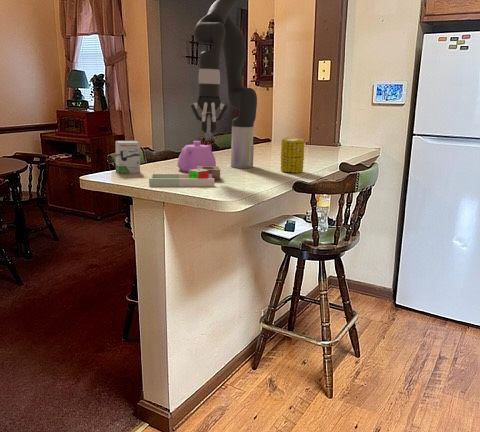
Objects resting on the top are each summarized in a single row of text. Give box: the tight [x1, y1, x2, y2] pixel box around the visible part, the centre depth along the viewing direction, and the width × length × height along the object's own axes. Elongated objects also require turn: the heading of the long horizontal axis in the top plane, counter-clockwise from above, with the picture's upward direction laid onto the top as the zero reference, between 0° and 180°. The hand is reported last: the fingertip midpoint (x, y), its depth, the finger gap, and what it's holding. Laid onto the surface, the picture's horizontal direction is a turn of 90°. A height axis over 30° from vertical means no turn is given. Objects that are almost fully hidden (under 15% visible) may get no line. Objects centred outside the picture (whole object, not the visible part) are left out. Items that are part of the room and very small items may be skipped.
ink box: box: [115, 140, 141, 174], centre depth 183 cm, size 9×5×12 cm, turn 118°
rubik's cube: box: [188, 169, 209, 178], centre depth 165 cm, size 5×5×5 cm
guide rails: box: [177, 173, 215, 187], centre depth 166 cm, size 12×10×2 cm
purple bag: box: [177, 140, 217, 173], centre depth 191 cm, size 22×16×12 cm
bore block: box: [197, 165, 221, 182], centre depth 175 cm, size 8×8×4 cm
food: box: [280, 136, 305, 174], centre depth 194 cm, size 15×12×10 cm
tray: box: [148, 173, 180, 187], centre depth 164 cm, size 10×10×2 cm
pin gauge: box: [204, 112, 213, 142], centre depth 170 cm, size 2×2×10 cm
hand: (208, 132), depth 171 cm, fingers closed on pin gauge, 2 cm apart
